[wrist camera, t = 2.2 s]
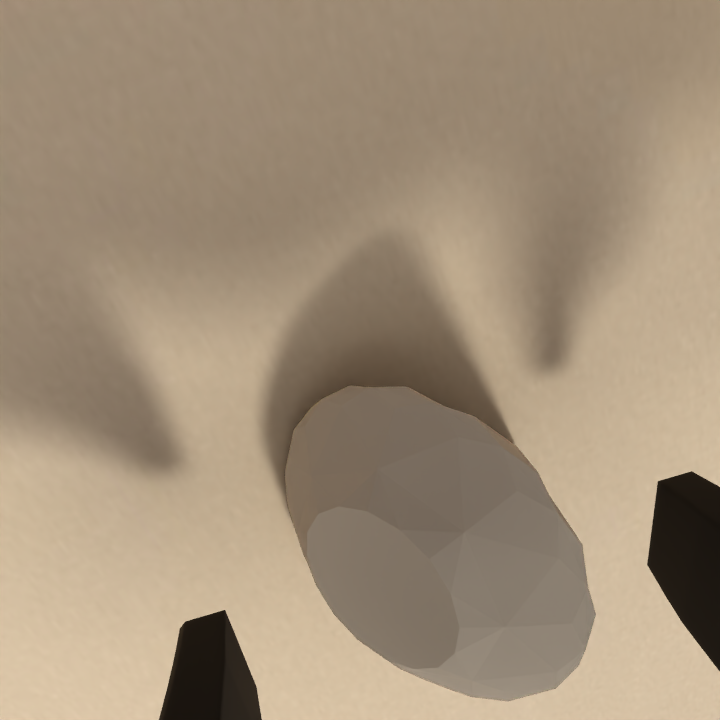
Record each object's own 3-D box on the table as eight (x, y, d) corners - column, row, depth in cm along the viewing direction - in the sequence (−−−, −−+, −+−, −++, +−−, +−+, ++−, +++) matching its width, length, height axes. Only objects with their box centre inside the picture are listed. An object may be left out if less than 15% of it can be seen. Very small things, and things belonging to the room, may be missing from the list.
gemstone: (657, 612, 14) (558, 821, 10) (407, 519, 17) (271, 650, 14) (683, 331, 11) (564, 480, 8) (386, 292, 15) (215, 381, 12)
